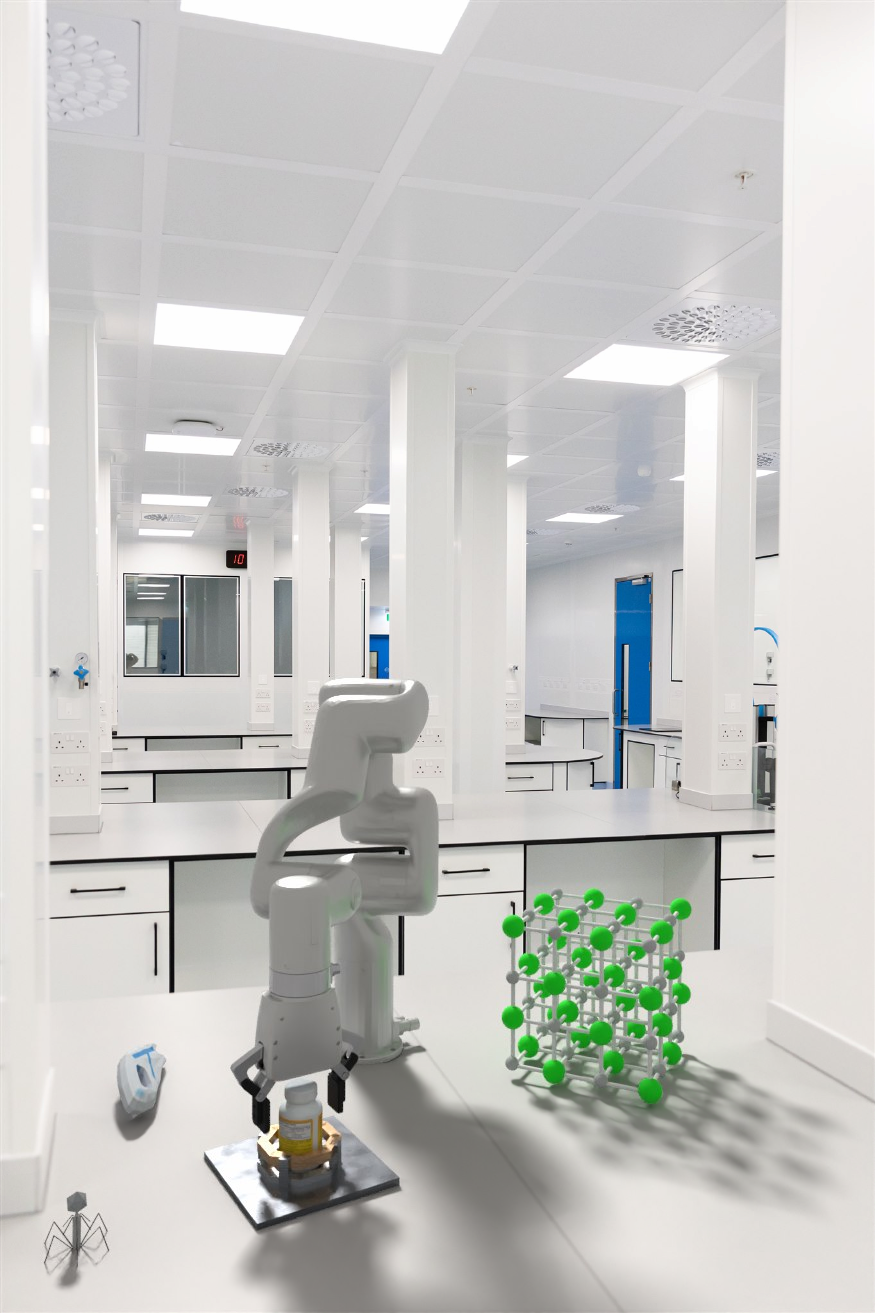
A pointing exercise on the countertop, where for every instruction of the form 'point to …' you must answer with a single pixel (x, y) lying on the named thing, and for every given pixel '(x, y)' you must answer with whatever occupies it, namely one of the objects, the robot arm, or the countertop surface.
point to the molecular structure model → (599, 988)
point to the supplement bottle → (300, 1119)
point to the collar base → (282, 1195)
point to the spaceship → (139, 1078)
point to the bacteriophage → (76, 1222)
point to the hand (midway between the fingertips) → (299, 1118)
